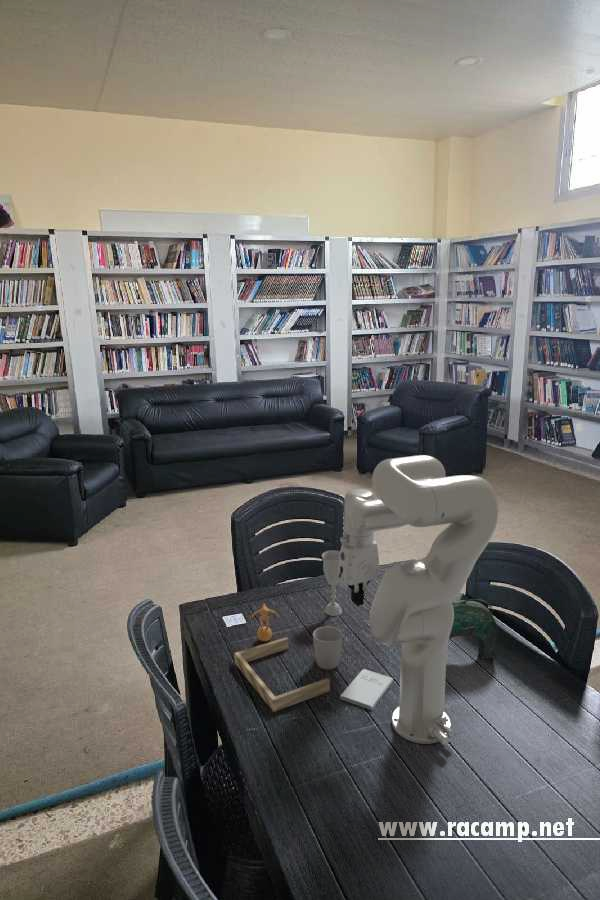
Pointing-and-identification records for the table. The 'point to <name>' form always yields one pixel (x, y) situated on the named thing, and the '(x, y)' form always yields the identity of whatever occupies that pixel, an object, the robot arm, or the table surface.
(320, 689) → the wooden u-shaped frame
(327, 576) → the chalice
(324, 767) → the table surface
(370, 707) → the external hard drive
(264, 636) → the figurine
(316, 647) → the cup
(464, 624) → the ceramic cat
